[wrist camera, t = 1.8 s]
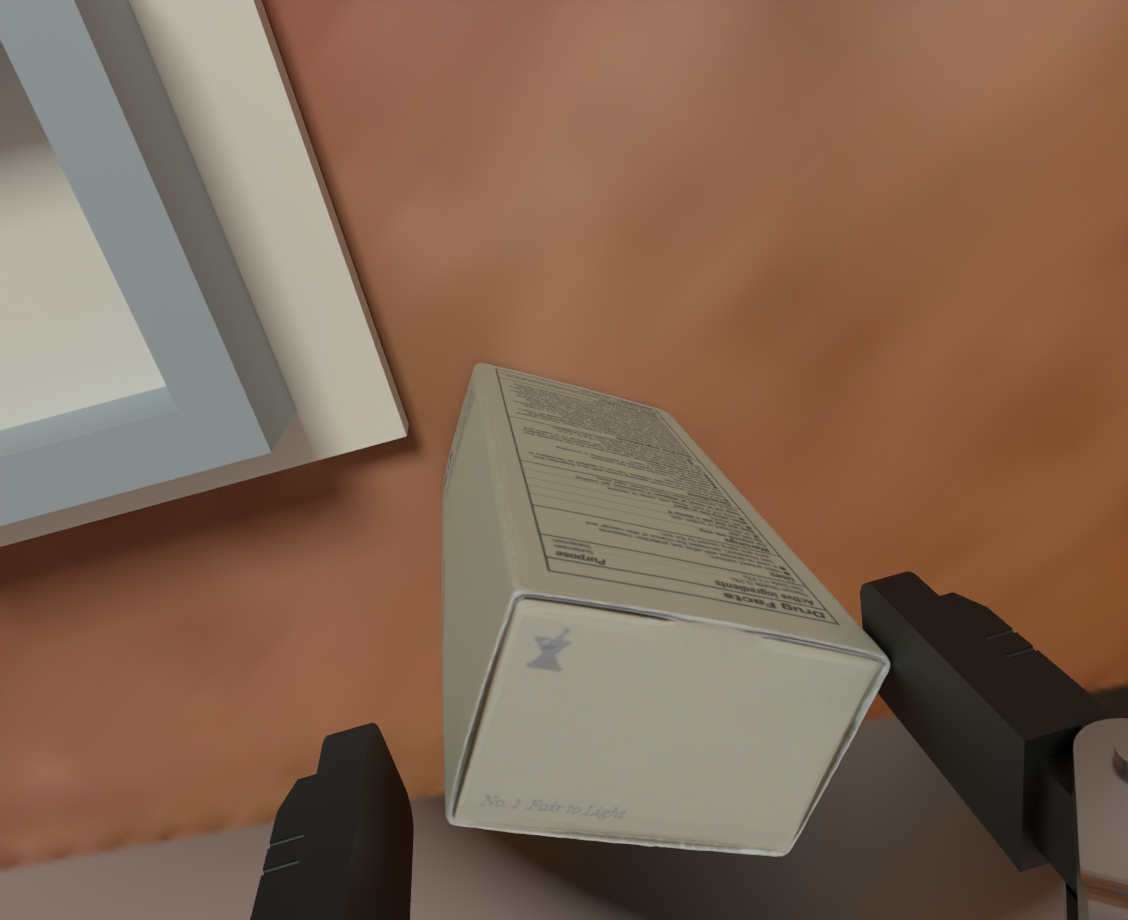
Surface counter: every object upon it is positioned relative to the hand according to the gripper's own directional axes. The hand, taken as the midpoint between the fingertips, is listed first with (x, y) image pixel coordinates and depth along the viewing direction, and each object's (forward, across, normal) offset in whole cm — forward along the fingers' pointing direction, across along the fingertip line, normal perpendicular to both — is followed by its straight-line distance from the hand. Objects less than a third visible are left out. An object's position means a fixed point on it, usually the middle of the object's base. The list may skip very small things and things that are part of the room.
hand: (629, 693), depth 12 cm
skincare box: (+11, 0, 0) cm, 11 cm away
